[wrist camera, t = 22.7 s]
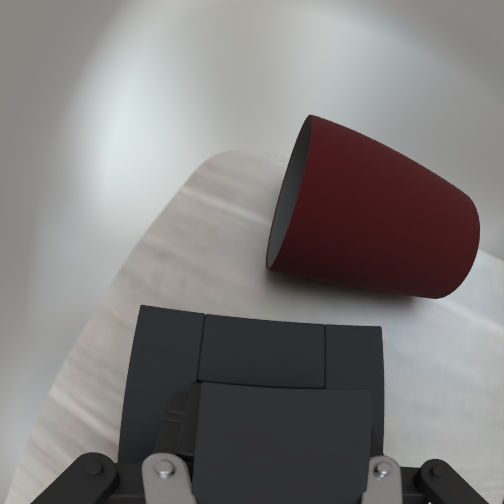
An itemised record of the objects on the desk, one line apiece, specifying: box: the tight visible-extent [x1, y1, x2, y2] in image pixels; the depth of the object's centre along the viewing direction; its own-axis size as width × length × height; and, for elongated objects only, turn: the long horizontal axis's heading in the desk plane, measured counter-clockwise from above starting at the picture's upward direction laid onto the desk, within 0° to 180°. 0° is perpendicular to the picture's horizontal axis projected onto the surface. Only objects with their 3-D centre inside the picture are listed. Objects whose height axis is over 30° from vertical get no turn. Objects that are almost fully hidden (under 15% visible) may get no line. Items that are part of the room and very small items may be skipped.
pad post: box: [191, 381, 372, 504], centre depth 9 cm, size 4×4×9 cm
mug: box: [266, 115, 480, 299], centre depth 18 cm, size 12×9×11 cm
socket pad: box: [118, 305, 384, 463], centre depth 12 cm, size 11×11×4 cm
